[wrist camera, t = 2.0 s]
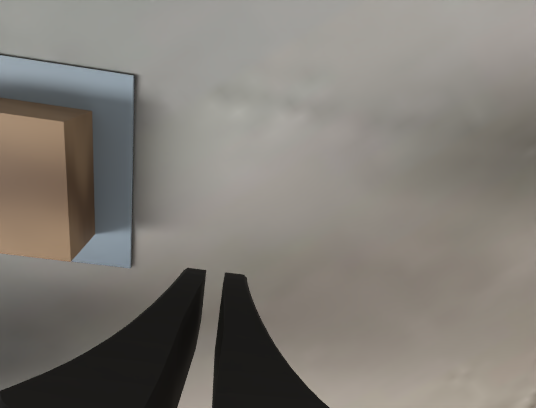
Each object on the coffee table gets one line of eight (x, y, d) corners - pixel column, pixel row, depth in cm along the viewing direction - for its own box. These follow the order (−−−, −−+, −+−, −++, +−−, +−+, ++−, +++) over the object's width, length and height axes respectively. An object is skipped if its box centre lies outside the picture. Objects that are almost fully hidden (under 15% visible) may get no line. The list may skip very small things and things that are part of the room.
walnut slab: (95, 234, 22) (70, 261, 19) (-33, 218, 21) (-77, 244, 19) (92, 110, 19) (63, 122, 16) (-54, 89, 19) (-109, 97, 16)
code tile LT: (131, 266, 23) (130, 268, 23) (-62, 243, 22) (-65, 245, 22) (134, 75, 19) (133, 75, 19) (-103, 39, 18) (-106, 38, 18)
